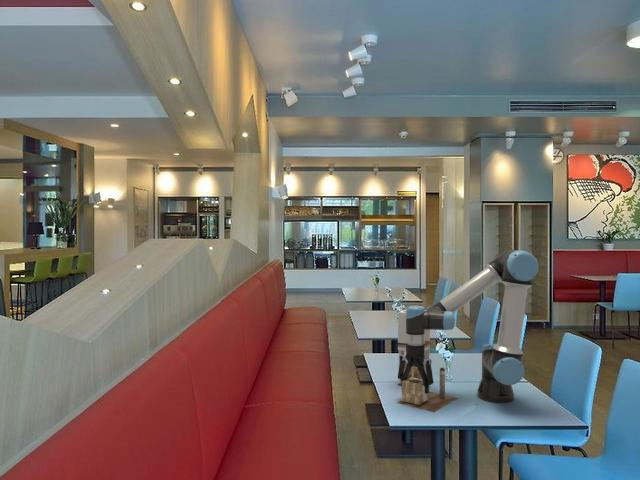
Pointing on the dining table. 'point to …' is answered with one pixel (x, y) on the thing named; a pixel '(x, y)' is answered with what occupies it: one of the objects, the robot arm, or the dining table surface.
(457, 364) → the dining table surface
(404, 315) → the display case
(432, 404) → the board
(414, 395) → the tan wooden cube
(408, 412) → the dining table surface
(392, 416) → the dining table surface
